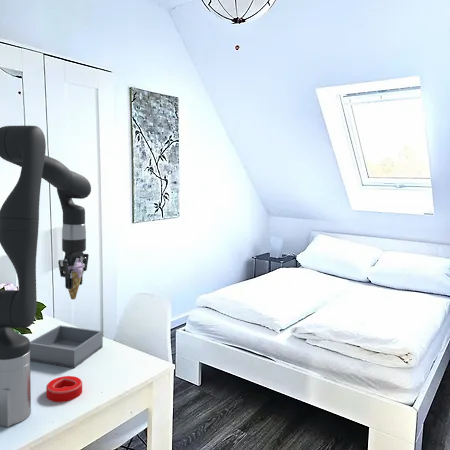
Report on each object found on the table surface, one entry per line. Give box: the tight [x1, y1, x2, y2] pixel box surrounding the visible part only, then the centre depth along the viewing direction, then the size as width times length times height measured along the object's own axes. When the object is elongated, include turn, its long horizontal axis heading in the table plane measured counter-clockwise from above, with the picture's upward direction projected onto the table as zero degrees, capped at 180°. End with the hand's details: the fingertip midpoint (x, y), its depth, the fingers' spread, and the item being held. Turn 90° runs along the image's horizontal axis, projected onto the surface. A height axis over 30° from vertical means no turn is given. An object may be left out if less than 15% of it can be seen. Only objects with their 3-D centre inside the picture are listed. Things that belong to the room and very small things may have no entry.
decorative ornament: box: [45, 375, 83, 403], centre depth 121 cm, size 10×10×3 cm
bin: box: [29, 324, 104, 369], centre depth 147 cm, size 18×18×6 cm
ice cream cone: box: [64, 258, 85, 300], centre depth 142 cm, size 7×6×15 cm
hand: (74, 286), depth 143 cm, fingers closed on ice cream cone, 5 cm apart
